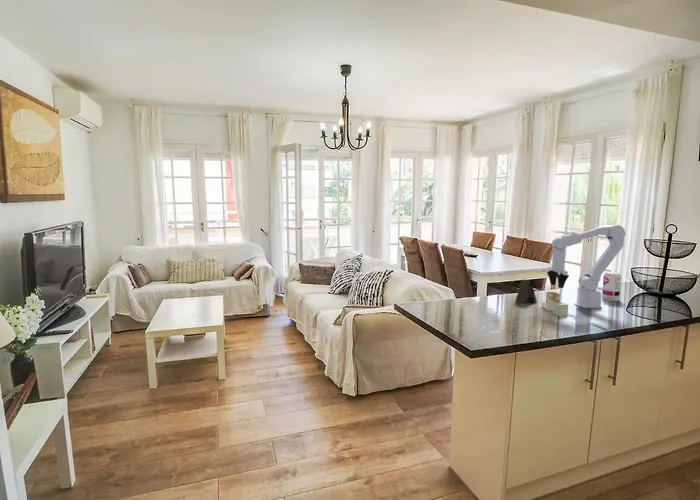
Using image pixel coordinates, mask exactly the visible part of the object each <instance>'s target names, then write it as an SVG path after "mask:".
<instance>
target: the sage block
mask: <svg viewBox="0 0 700 500" xmlns="http://www.w3.org/2000/svg"><path fill="white" fill-rule="evenodd" d="M552 314H553V315H555V316H558V317H566V316H569V315H568V314H569V304H568V303H565V302H563V301H562V302H561V301H560V302H557V303H553V310H552Z"/></svg>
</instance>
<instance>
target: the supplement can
mask: <svg viewBox="0 0 700 500" xmlns="http://www.w3.org/2000/svg"><path fill="white" fill-rule="evenodd" d="M621 286H622V274H621V273H620V272H615V271H604V274H603V279H602V291H601V299H602V300H605V301H607V302H608V301H609V302H618V301H620V300H621Z"/></svg>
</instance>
